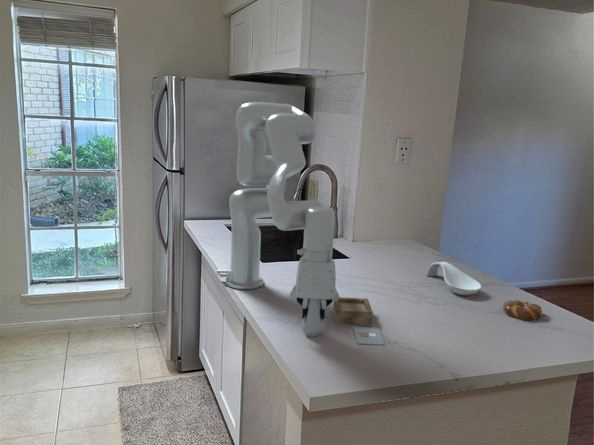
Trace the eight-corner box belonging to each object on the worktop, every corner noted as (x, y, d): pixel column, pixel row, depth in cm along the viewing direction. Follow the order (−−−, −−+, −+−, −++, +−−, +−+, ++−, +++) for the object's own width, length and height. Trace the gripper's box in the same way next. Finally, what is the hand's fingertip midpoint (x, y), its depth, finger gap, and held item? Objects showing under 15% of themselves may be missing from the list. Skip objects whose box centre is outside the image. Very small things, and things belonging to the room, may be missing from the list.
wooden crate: (336, 323, 145) (337, 310, 144) (333, 309, 155) (334, 296, 154) (371, 325, 145) (372, 311, 144) (366, 311, 155) (367, 298, 154)
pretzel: (529, 307, 166) (531, 296, 166) (550, 322, 156) (552, 310, 155) (494, 307, 164) (496, 296, 164) (514, 322, 154) (516, 310, 153)
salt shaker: (300, 328, 141) (303, 283, 138) (321, 328, 141) (324, 283, 138) (302, 338, 135) (305, 291, 132) (324, 338, 136) (327, 291, 133)
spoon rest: (487, 297, 173) (490, 277, 171) (459, 301, 168) (462, 280, 167) (442, 274, 194) (445, 256, 192) (416, 277, 190) (418, 258, 188)
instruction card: (357, 344, 134) (357, 342, 133) (352, 327, 143) (353, 326, 143) (384, 345, 134) (384, 343, 134) (378, 328, 143) (378, 327, 143)
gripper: (285, 257, 129) (281, 325, 133) (350, 260, 130) (345, 328, 134) (285, 248, 137) (282, 314, 141) (347, 252, 137) (342, 316, 141)
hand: (312, 320), depth 137 cm, fingers closed on salt shaker, 3 cm apart
